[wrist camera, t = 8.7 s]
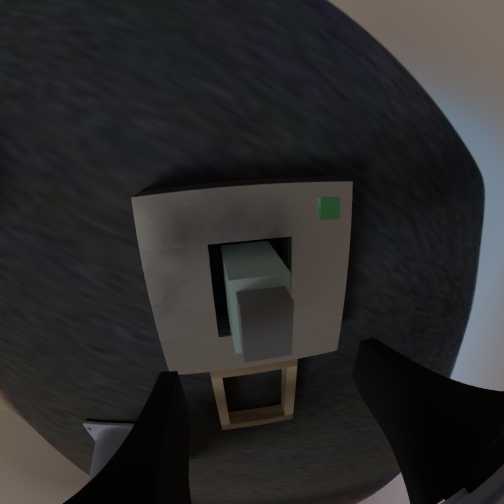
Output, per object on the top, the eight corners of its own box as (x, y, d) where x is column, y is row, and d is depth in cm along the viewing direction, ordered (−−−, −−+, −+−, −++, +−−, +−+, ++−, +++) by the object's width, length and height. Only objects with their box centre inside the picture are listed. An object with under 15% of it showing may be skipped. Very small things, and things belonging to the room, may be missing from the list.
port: (324, 331, 22) (338, 351, 19) (172, 352, 20) (170, 377, 18) (333, 176, 18) (354, 181, 15) (141, 190, 16) (130, 198, 13)
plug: (269, 301, 20) (297, 362, 14) (226, 307, 20) (239, 372, 14) (267, 240, 18) (300, 287, 12) (220, 245, 18) (232, 296, 12)
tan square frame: (288, 407, 25) (292, 418, 23) (220, 418, 24) (222, 429, 22) (292, 346, 22) (297, 358, 20) (208, 358, 21) (210, 371, 19)
